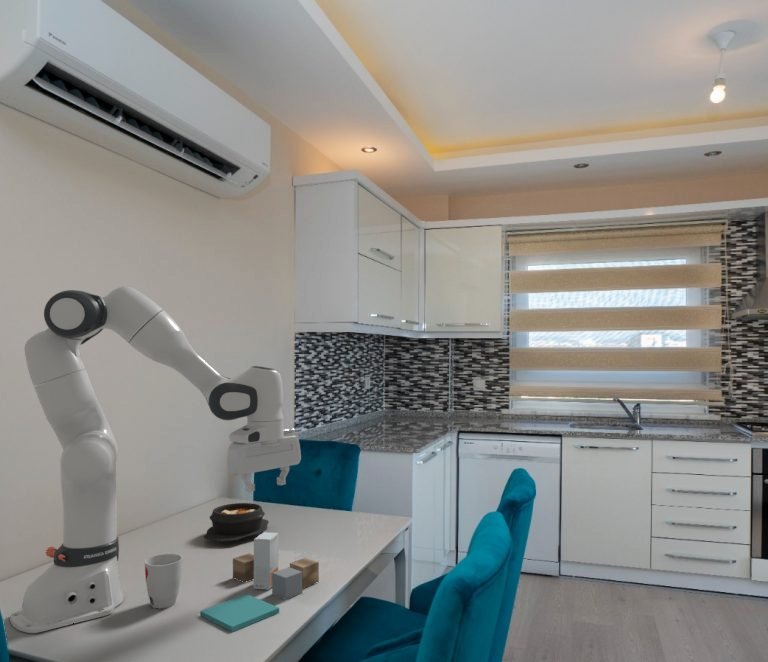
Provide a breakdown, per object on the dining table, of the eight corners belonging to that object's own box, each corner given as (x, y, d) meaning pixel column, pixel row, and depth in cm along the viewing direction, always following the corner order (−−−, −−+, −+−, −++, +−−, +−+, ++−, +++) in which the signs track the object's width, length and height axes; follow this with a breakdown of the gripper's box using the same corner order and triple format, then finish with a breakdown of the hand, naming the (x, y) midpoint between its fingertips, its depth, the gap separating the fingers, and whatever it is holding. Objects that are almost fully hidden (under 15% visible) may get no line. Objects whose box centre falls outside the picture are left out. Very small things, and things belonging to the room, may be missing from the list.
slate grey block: (285, 599, 138) (285, 577, 138) (272, 594, 141) (272, 572, 141) (302, 593, 141) (302, 571, 142) (288, 588, 145) (288, 567, 145)
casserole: (243, 550, 174) (243, 520, 174) (188, 545, 179) (188, 516, 180) (282, 526, 198) (282, 500, 198) (232, 522, 203) (232, 497, 204)
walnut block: (244, 583, 148) (244, 562, 149) (232, 578, 152) (232, 558, 152) (261, 577, 152) (261, 557, 152) (249, 572, 155) (249, 553, 156)
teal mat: (232, 631, 122) (232, 626, 122) (200, 615, 130) (200, 610, 130) (279, 612, 131) (279, 607, 131) (246, 598, 139) (246, 594, 139)
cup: (153, 596, 140) (153, 553, 141) (187, 596, 140) (187, 553, 140) (138, 611, 132) (138, 565, 133) (174, 611, 132) (174, 565, 132)
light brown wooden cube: (303, 588, 144) (303, 567, 144) (290, 583, 148) (289, 563, 148) (318, 582, 148) (318, 562, 148) (305, 577, 151) (305, 557, 152)
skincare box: (269, 590, 143) (269, 539, 144) (253, 589, 144) (253, 538, 145) (279, 581, 149) (279, 532, 150) (263, 580, 150) (263, 531, 150)
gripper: (290, 426, 158) (290, 479, 157) (223, 435, 143) (223, 493, 142) (305, 428, 154) (306, 482, 153) (238, 437, 139) (239, 497, 138)
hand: (266, 487), depth 148 cm, fingers open, 8 cm apart
